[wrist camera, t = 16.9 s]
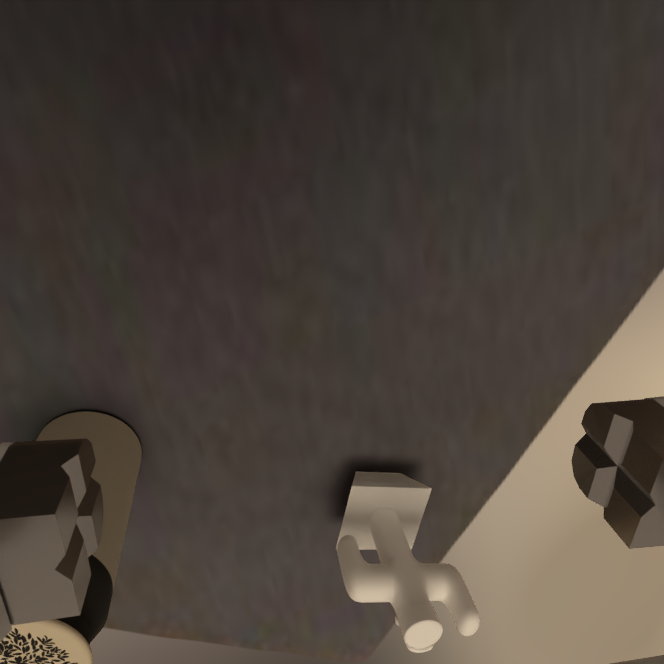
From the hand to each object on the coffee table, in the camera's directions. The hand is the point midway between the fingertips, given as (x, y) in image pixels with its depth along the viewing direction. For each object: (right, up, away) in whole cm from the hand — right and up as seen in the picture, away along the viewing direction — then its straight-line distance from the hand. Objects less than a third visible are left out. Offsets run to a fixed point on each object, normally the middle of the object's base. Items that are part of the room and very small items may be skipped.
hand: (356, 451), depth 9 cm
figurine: (+3, -13, +43) cm, 45 cm away
